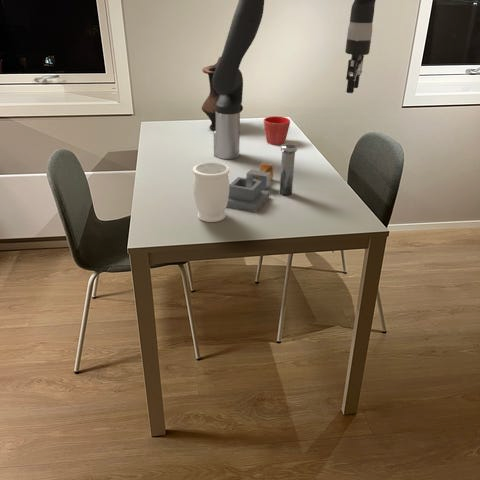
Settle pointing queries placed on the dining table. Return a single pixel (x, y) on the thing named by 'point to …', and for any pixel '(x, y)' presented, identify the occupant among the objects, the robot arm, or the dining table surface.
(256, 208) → the socket
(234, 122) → the robot arm
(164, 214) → the dining table surface
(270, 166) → the lock pin
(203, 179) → the jar
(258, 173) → the block
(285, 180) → the cylinder
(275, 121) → the flower pot
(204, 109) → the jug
